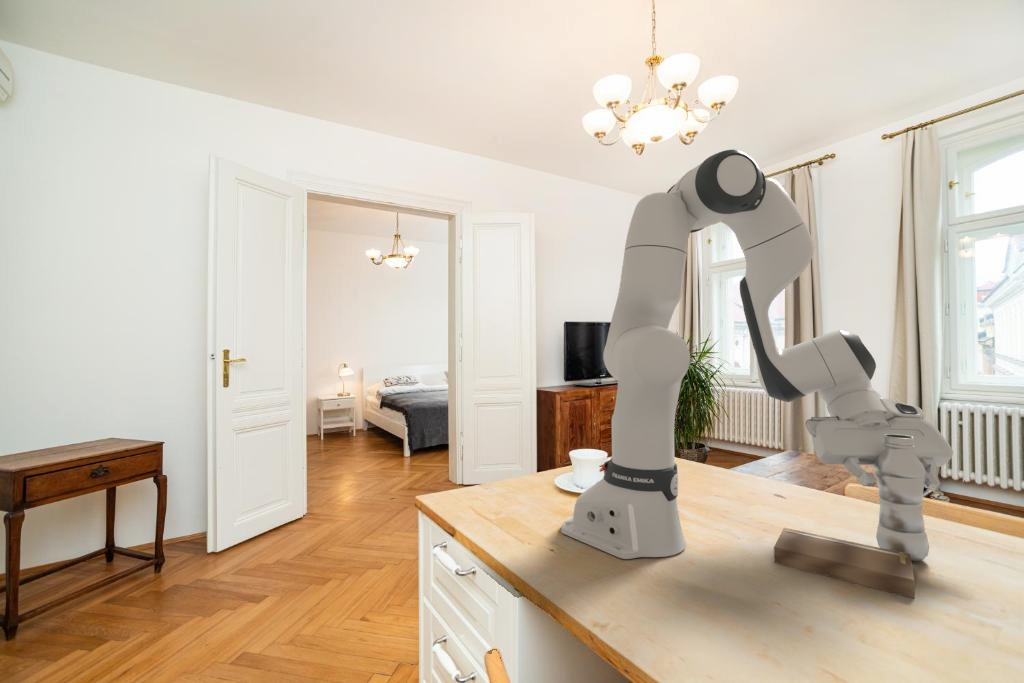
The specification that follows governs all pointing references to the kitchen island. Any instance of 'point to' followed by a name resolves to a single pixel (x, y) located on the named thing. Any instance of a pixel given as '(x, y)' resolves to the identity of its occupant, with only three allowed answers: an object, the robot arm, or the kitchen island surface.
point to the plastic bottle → (901, 498)
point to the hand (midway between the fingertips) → (901, 485)
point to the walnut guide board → (846, 561)
